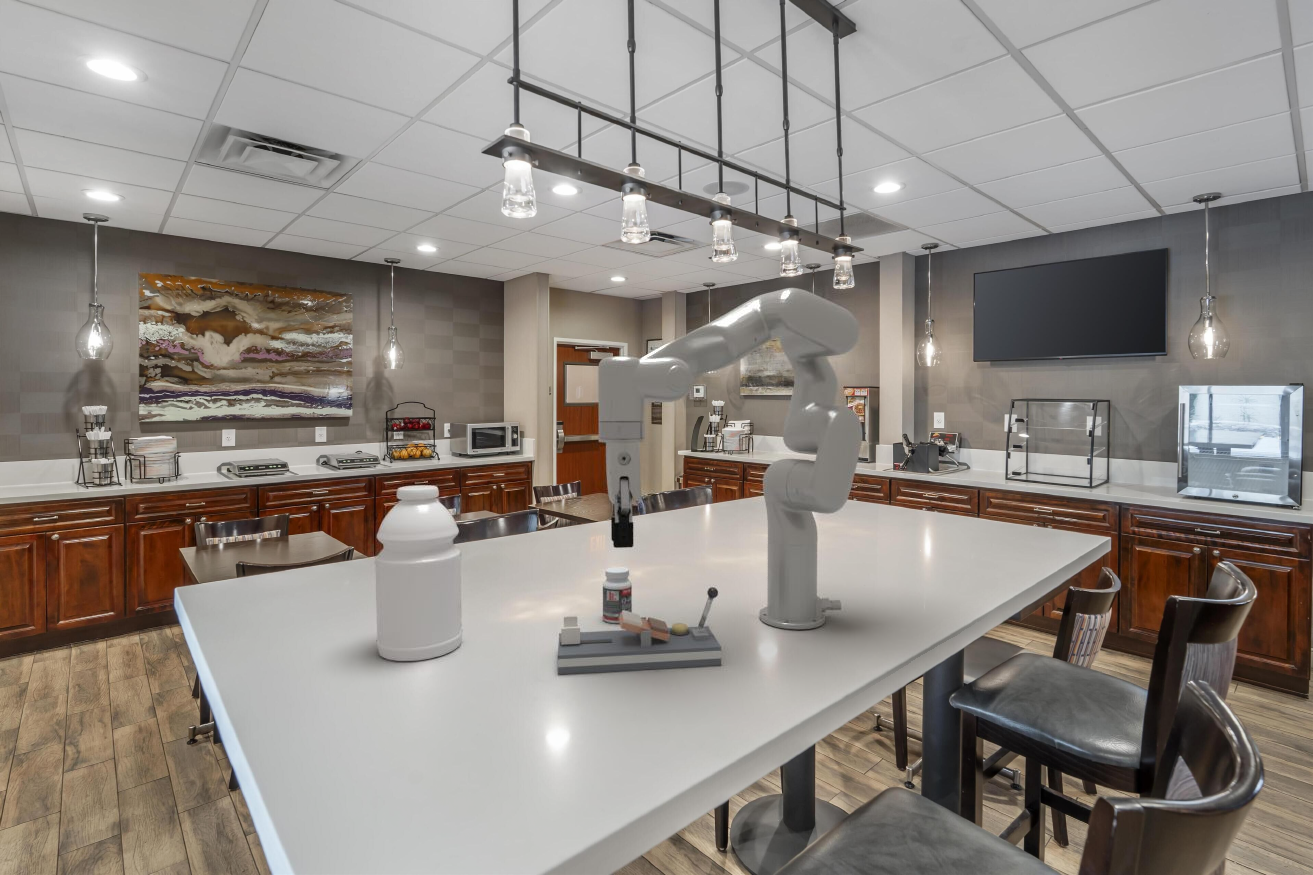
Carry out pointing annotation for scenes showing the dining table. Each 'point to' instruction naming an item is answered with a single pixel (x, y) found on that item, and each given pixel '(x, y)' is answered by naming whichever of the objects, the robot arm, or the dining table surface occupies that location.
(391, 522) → the bottle
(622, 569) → the pill bottle
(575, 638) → the slider
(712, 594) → the lever
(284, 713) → the dining table surface
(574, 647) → the console
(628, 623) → the rocker
